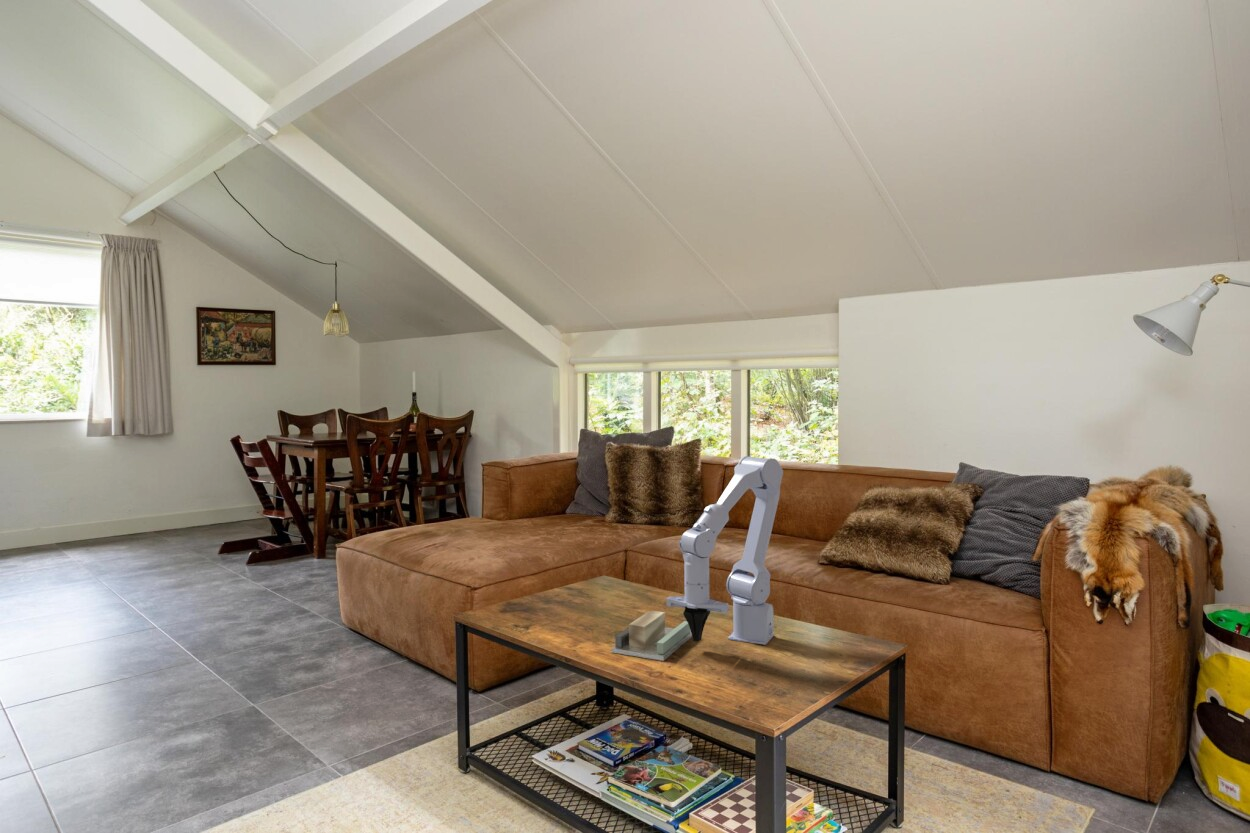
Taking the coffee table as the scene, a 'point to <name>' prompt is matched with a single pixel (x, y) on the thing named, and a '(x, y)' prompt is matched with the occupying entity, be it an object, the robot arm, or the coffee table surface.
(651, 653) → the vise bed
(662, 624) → the wood bar
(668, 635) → the bar
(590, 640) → the coffee table surface
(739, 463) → the robot arm
